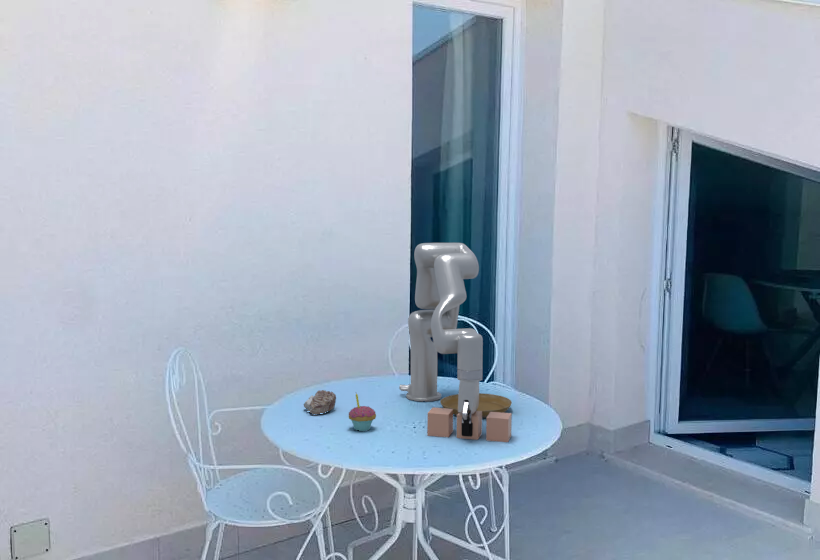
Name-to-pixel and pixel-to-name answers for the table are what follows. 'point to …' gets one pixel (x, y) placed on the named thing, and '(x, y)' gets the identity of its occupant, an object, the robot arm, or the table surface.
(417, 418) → the table surface
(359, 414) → the cupcake
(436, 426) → the peach toy brick
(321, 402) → the seashell
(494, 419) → the salmon orange block
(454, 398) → the plant saucer
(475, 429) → the toy block
